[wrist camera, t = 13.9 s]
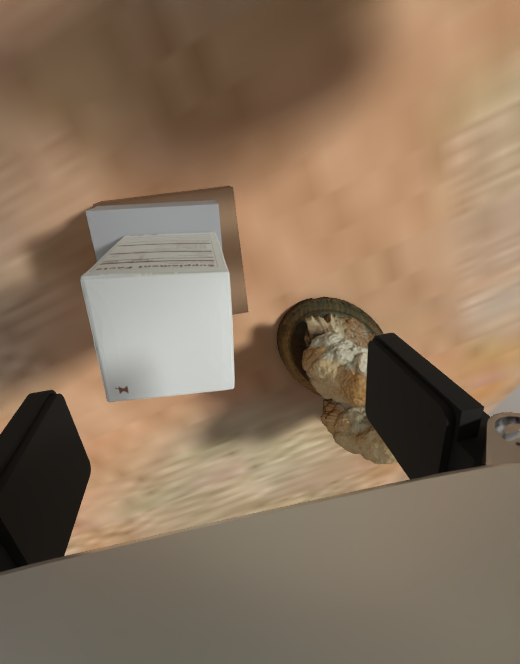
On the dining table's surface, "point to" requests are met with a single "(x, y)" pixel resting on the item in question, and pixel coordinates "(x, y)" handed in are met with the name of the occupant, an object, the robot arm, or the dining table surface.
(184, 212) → the grey top block
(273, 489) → the dining table surface
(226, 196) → the walnut base block
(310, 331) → the carved figurine
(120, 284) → the supplement box
